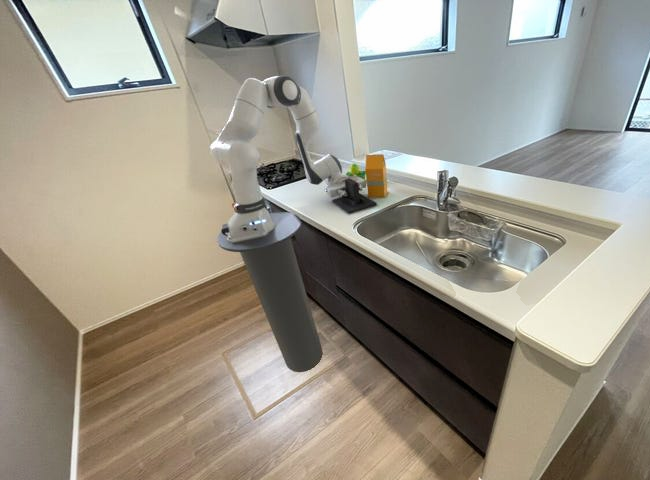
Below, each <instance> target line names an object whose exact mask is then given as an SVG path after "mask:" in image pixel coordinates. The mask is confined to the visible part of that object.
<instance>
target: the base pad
mask: <svg viewBox="0 0 650 480" xmlns="http://www.w3.org/2000/svg"><path fill="white" fill-rule="evenodd" d="M359 194H360V202H361V203H359V204H356V203H355V202H354V201H352V200H351V199H349V198H348V197H347V195H344V196H343V195H340V197H337V198H334V199H332V203H334V204H335V205H336V206H337V207H339V208H340V209H342V210H343V211H344V212H345V213H347V214H348V215H351V214H353V213H358V212H360V211H363V210H367V209H371V208H373V207H377V206H378V203H377V202H375V201H374V200H372V199H371V198H368V196H366V195H363V194H362V193H360V192H359Z"/></svg>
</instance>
